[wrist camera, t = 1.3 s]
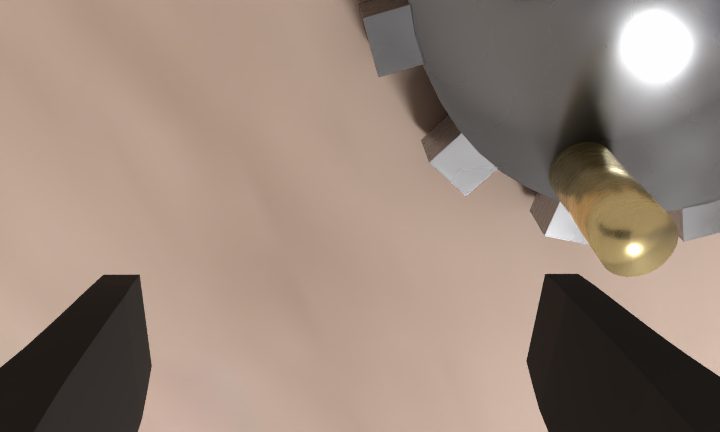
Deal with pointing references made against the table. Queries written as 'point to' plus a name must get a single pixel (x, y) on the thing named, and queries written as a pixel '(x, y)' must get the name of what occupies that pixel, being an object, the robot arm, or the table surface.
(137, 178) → the table surface
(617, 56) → the sprocket
